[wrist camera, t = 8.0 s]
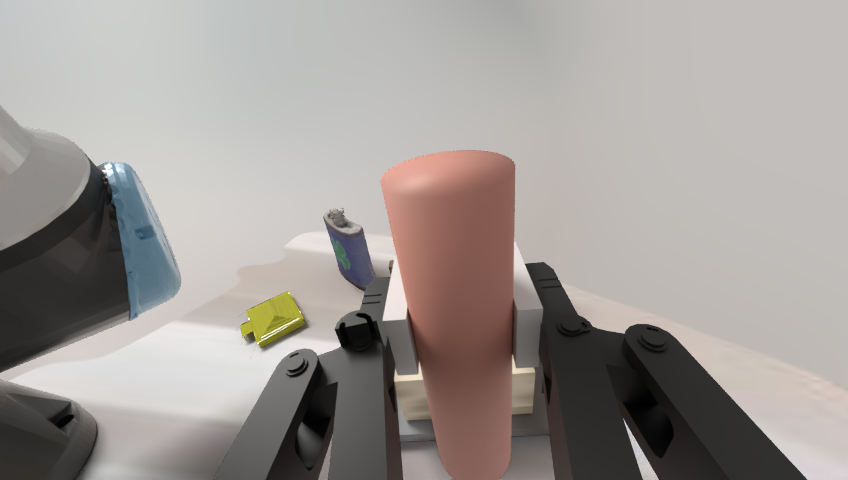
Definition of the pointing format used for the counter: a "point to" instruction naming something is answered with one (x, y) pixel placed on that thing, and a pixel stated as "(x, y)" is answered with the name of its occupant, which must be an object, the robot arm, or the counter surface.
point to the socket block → (417, 403)
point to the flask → (349, 249)
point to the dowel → (460, 297)
